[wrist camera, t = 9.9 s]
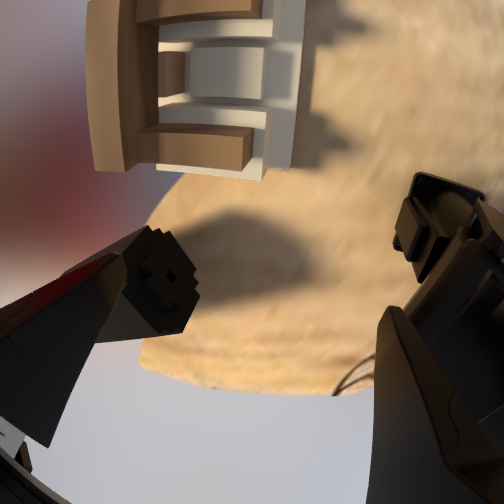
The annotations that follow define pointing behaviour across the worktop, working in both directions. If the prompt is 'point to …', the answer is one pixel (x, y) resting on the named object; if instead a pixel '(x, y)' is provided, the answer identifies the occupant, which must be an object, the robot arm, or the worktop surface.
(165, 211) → the worktop surface
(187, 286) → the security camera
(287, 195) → the worktop surface
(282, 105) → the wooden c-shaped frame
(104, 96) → the wooden c-shaped bracket
